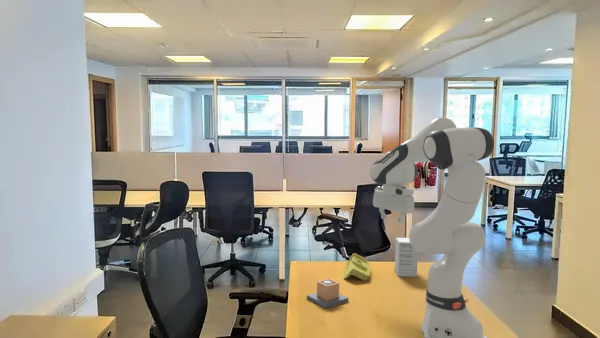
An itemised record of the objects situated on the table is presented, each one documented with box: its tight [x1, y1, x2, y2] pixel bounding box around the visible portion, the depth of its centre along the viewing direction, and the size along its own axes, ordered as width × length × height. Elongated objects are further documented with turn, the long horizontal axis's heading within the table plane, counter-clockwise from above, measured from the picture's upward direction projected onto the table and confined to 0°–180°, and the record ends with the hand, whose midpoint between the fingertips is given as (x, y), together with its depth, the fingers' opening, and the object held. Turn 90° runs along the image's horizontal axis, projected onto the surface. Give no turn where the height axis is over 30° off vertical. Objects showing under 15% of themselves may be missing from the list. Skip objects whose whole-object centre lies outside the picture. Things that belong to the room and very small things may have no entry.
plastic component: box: [343, 252, 371, 282], centre depth 204 cm, size 20×7×10 cm
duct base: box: [306, 281, 349, 309], centre depth 172 cm, size 12×12×8 cm
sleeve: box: [316, 278, 340, 301], centre depth 172 cm, size 6×6×6 cm
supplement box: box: [394, 237, 419, 278], centre depth 205 cm, size 10×9×17 cm
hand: (392, 220), depth 181 cm, fingers open, 8 cm apart
